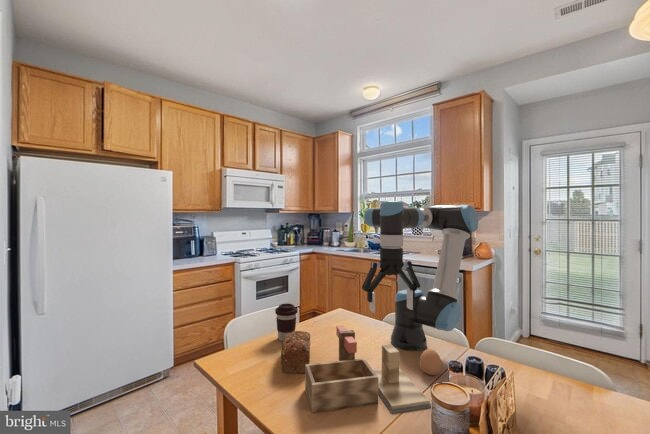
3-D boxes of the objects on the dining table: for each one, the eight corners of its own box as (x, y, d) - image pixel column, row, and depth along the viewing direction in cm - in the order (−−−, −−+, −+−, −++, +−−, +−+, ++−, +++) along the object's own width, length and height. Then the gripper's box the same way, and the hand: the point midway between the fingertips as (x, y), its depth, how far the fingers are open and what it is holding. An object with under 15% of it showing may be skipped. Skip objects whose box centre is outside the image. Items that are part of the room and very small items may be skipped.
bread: (309, 375, 106) (310, 346, 106) (279, 375, 106) (279, 347, 106) (310, 351, 125) (311, 327, 125) (284, 351, 124) (285, 327, 124)
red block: (343, 334, 118) (343, 325, 118) (356, 352, 103) (356, 342, 103) (336, 334, 118) (336, 325, 118) (348, 353, 102) (348, 342, 102)
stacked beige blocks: (429, 403, 89) (429, 367, 89) (391, 409, 87) (392, 371, 87) (398, 369, 109) (398, 339, 109) (366, 373, 106) (367, 342, 106)
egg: (425, 366, 113) (425, 343, 112) (445, 374, 107) (445, 350, 107) (415, 373, 107) (416, 349, 107) (435, 381, 102) (435, 356, 102)
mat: (398, 369, 110) (398, 368, 110) (432, 407, 88) (432, 406, 88) (364, 373, 107) (364, 372, 107) (391, 413, 86) (391, 412, 86)
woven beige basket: (354, 367, 111) (355, 329, 111) (378, 403, 90) (378, 357, 90) (300, 373, 106) (301, 334, 106) (312, 413, 85) (312, 363, 85)
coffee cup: (301, 337, 138) (301, 304, 138) (287, 345, 130) (287, 310, 130) (284, 332, 144) (285, 301, 143) (270, 339, 135) (270, 306, 135)
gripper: (419, 244, 108) (418, 304, 108) (352, 246, 102) (352, 309, 103) (431, 247, 100) (430, 310, 101) (359, 249, 95) (359, 316, 95)
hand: (391, 310), depth 102 cm, fingers open, 13 cm apart
